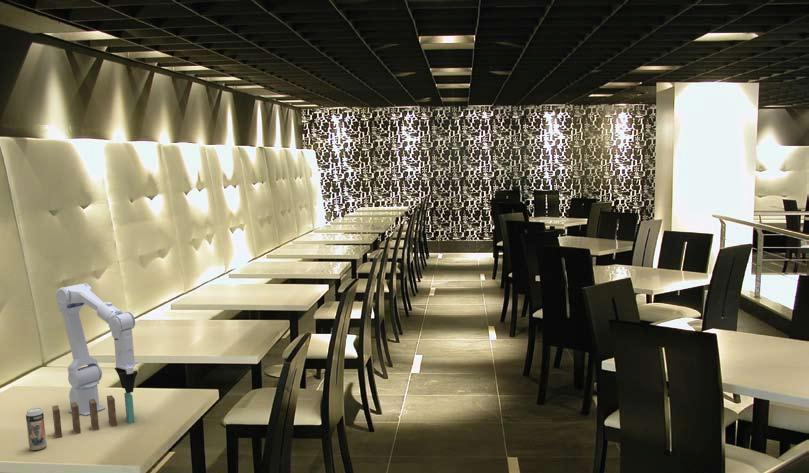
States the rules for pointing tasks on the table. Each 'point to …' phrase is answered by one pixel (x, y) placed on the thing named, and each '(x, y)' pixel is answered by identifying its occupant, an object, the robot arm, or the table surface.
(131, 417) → the domino
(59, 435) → the domino
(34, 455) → the table surface
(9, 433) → the table surface
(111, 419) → the domino
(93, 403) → the domino
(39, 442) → the beer can
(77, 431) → the domino
